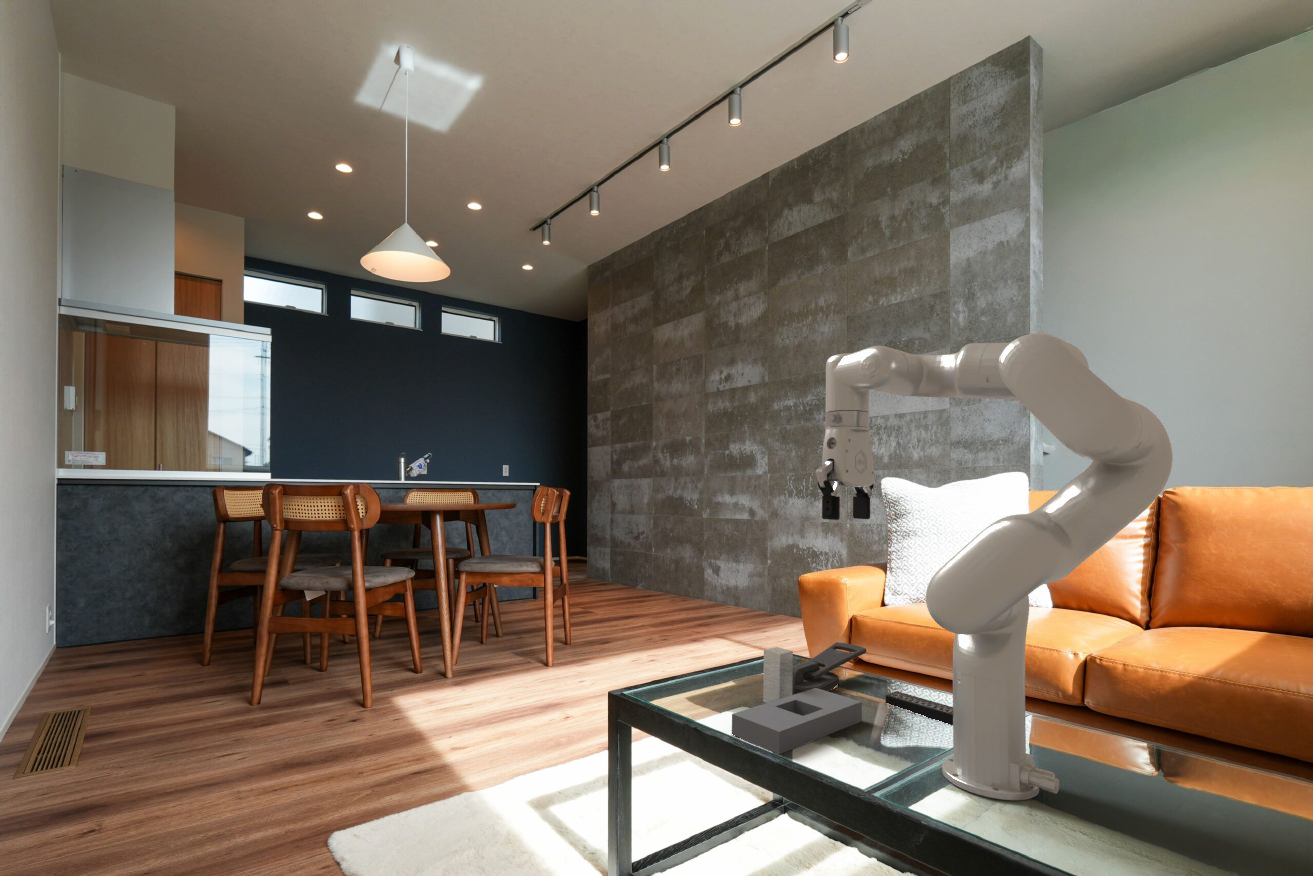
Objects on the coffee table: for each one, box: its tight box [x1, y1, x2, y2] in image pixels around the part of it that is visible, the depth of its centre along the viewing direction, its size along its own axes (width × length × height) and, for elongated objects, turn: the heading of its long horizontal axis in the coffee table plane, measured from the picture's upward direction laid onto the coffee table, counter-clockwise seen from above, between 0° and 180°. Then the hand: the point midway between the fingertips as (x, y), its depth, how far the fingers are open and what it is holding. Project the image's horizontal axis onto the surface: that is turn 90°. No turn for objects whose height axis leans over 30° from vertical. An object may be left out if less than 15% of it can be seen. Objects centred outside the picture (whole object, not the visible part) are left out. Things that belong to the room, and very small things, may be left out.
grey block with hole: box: [731, 688, 863, 755], centre depth 114 cm, size 10×24×4 cm, turn 131°
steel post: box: [762, 646, 794, 704], centre depth 128 cm, size 4×4×10 cm
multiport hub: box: [885, 691, 953, 726], centre depth 124 cm, size 4×14×2 cm, turn 40°
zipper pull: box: [792, 641, 867, 695], centre depth 141 cm, size 9×7×25 cm
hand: (846, 519), depth 116 cm, fingers open, 9 cm apart
